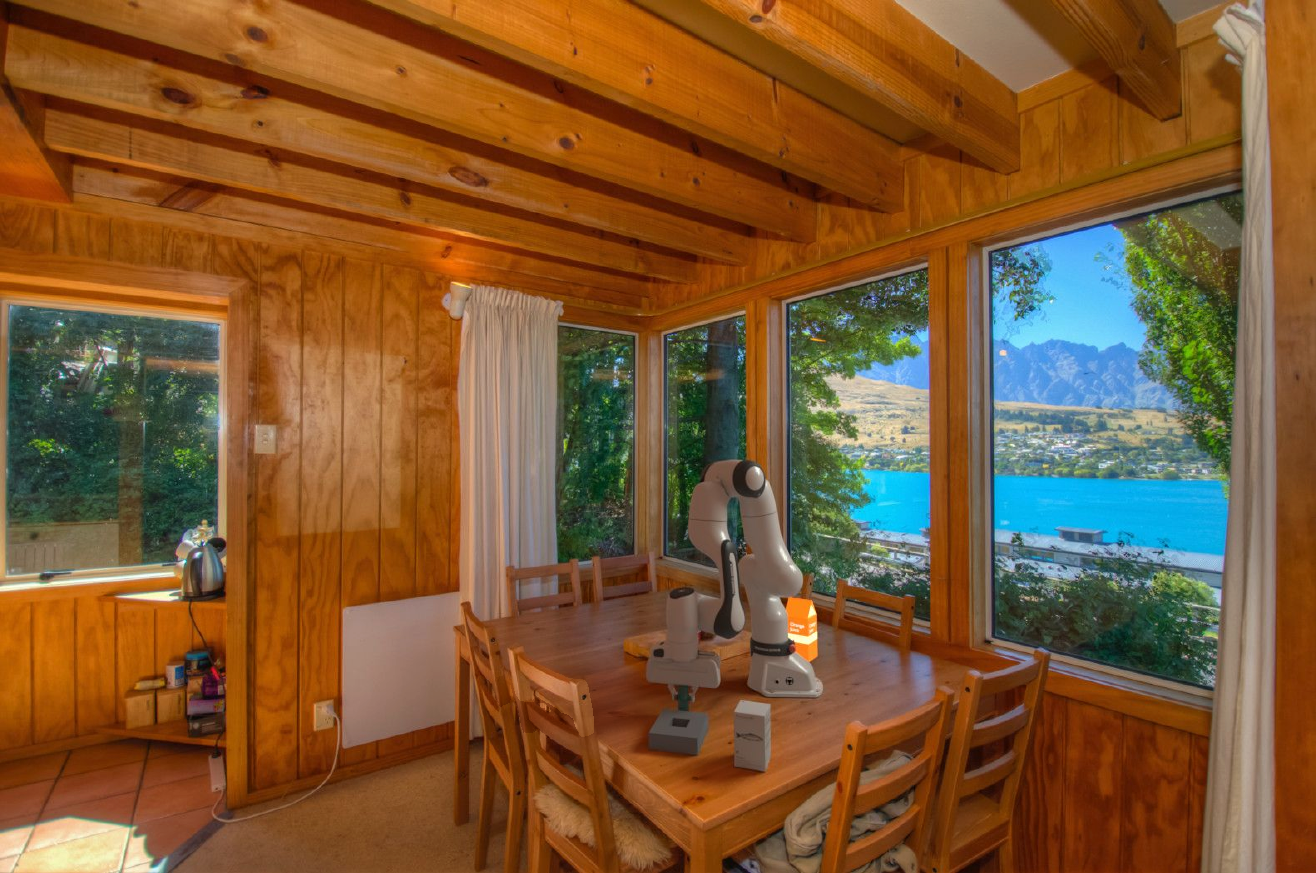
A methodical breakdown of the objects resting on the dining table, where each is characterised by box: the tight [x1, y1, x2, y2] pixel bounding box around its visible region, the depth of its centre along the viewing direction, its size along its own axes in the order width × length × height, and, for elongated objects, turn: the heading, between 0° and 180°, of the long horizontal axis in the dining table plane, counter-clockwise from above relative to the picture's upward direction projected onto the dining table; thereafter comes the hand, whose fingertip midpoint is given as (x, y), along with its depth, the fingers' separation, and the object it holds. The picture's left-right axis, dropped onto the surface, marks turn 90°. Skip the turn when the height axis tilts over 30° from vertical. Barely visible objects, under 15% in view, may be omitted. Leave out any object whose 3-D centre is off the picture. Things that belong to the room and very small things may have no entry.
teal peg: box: [677, 685, 690, 711], centre depth 165 cm, size 3×3×10 cm
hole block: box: [648, 708, 710, 756], centre depth 152 cm, size 12×14×4 cm
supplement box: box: [733, 699, 772, 773], centre depth 140 cm, size 7×7×13 cm
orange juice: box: [785, 597, 818, 663], centre depth 210 cm, size 8×9×20 cm
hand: (683, 700), depth 165 cm, fingers closed on teal peg, 3 cm apart
